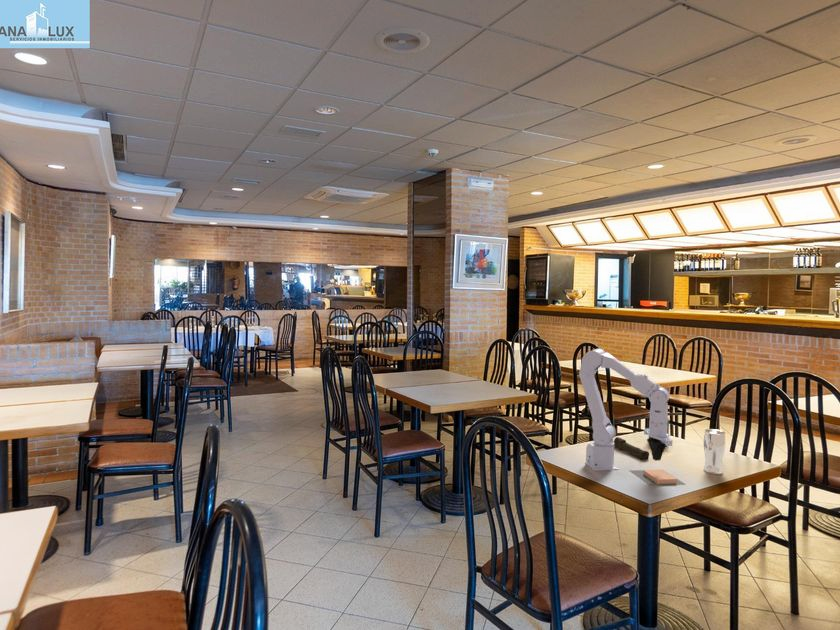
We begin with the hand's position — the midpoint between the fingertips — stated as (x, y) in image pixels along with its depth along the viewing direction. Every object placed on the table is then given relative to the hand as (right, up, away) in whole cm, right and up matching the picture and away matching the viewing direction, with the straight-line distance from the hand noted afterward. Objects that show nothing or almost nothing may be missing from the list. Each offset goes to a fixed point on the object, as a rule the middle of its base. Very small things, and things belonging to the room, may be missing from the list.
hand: (656, 459), depth 182 cm
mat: (0, -6, 0) cm, 6 cm away
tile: (0, -5, +3) cm, 6 cm away
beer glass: (+24, -7, +8) cm, 26 cm away
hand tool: (+1, -5, +27) cm, 28 cm away
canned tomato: (+20, -5, +41) cm, 46 cm away
